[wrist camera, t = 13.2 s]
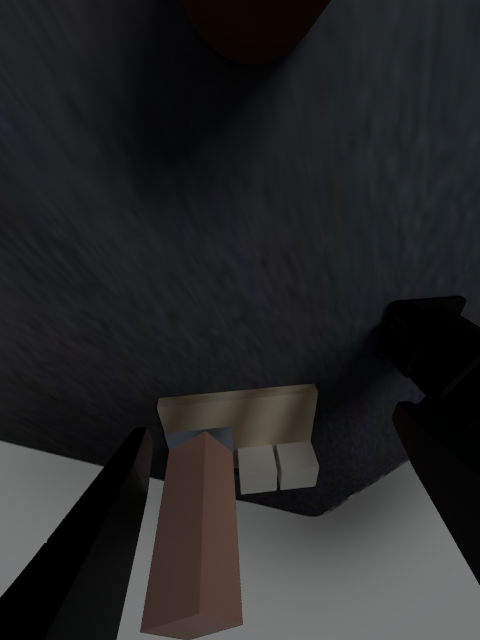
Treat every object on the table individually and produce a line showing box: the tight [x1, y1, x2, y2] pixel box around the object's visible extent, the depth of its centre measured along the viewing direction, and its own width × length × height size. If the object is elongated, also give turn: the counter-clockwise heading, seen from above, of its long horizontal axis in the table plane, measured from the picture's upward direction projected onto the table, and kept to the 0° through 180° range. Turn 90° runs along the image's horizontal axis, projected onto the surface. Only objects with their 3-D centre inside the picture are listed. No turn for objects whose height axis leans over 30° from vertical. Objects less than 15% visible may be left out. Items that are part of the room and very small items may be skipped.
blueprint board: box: [157, 384, 318, 468], centre depth 29 cm, size 16×12×1 cm
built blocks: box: [238, 441, 319, 494], centre depth 30 cm, size 8×4×3 cm, turn 93°
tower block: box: [140, 431, 243, 640], centre depth 24 cm, size 5×5×13 cm
